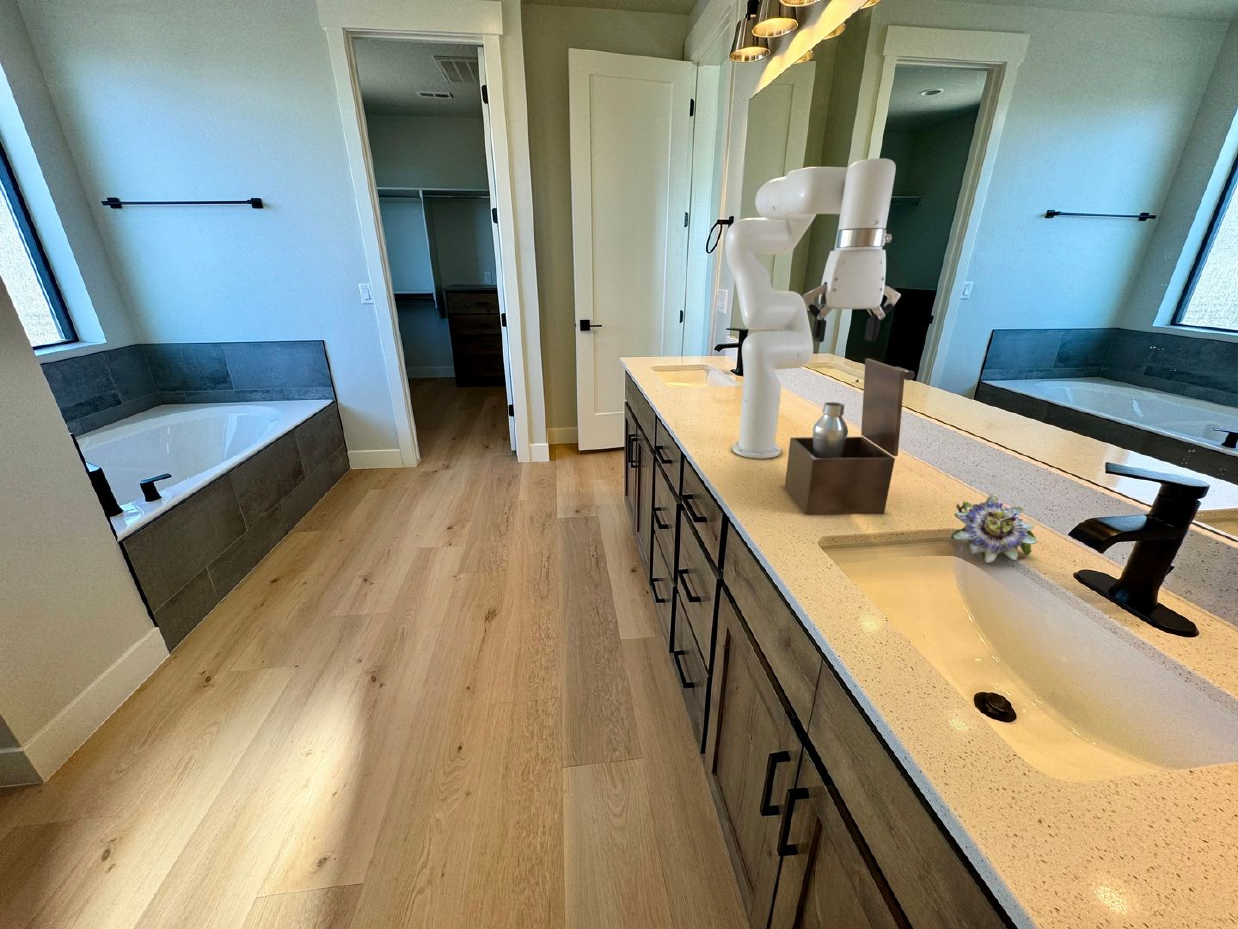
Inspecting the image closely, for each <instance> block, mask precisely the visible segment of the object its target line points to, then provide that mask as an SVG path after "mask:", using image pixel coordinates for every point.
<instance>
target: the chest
mask: <svg viewBox="0 0 1238 929" xmlns="http://www.w3.org/2000/svg"><path fill="white" fill-rule="evenodd" d="M895 461H896V458H895V457H894V456H892V455H891V454H889V453H888V452H886V451H885V450H883V449H882V448H880V447H879V446H877V445H876V444H874V443H873V442H871V441H870V440H868V439H867V438H865V437H864V436H847V438H846V441H845V444H844V447H843V451H842V456H841V458H815V457H814V456H813V436H807V437H806V436H805V437H801V436H800V437H799V436H798V437H790V440H789V447H788V456H787V462H786V463H787V464H786V473H785V479H784V480H785V481H784V488H785V489H786V491H787V492H788V493H789V495H790V496H791V497H792V499H793V500H794V501H795V503H796V504H797V505H798V506H799V508H800V509H801V510H802V512H803V513H804V515H809V516H811V515H812V516H813V515H883V514H885V512H886V511H885V510H886V505H887V502H888V495H889V492H890V486H891V480H892V476H893V471H894V467H895Z"/></svg>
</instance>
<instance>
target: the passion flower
mask: <svg viewBox="0 0 1238 929" xmlns="http://www.w3.org/2000/svg"><path fill="white" fill-rule="evenodd" d="M1003 506H1004V502H1000V501H999V497H998V496H997V495H996V494H994V493H991V495H989V496H988V497H987V498H986V500H985V501H984V502H980V503H979V504H977V503H975V504H972V503H970V502H968V501H963V502H962V505H960V503H958V502H957V504H956V505H955V507H956V509H957V511H958V512H957V513H954V516H955V518H957V519H958V520H959V521H961V523H963V524H965V525H964V526H963V527H962V528H961V529H957V530H956V531H953V532H952V533H951V534H950V538H951V539H952V540H956V541H964V540H967V541H968V552H969V554H970V556H974V555H975V556H976V555H977V554H978V555H980V556H982V558H983V561H984V563H985V564H991V563H993V562H994V561H995V560H996V559H997V557H998V555H999V554H1004V555H1005V556H1006V557H1007V558H1008V559H1010V560H1012V561H1016V560H1017V559H1018V557H1019V551H1018V550H1019V549H1018V548H1020V549H1021V551H1022V553H1023V555H1024V557H1025V558H1026V557H1028V556H1029V555H1030V554H1031V553H1032V545H1035V544H1037V543H1038V539H1037V538H1036V536H1035V534H1034V533H1033V532H1032V530H1033V529H1034V528H1035V525H1034V524H1033V523H1031V522H1028V521H1023V520H1024V519H1023V518H1021V517H1022V515H1021V514H1022V513H1023V511H1024V507H1023V506H1021V505H1019V506H1013V507H1012V506H1011V507H1009V508H1008V507H1003ZM968 508H969V509H968ZM963 510H964V511H963ZM1019 516H1020V517H1019Z"/></svg>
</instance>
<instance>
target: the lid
mask: <svg viewBox="0 0 1238 929" xmlns="http://www.w3.org/2000/svg"><path fill="white" fill-rule="evenodd" d="M914 378H915V372H914V371H913V370H909V369H907V368H903V367H900V366H893V365H890V364H887V363H883V362H881V361H878V360H875V359H872V358H865V360H864V378H863V392H862V394H863V395H862V396H863V397H862V398H863V399H862V412H861V431H860V435H861V437H864V438H865V439H867V440H868V441H870V442H871V443H873V444H874V445H876V446H877V447H879V448H880V449H882V450H883V451H884V452H886V453H887V454H889V455H890V456H892V457H898V456H899V446H900V435H901V434H900V433H901V424H902V423H901V422H902V412H903V402H904V401H903V399H904V388H905V381H907V382H909V381H912V380H913V379H914Z"/></svg>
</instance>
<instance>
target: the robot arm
mask: <svg viewBox="0 0 1238 929" xmlns="http://www.w3.org/2000/svg"><path fill="white" fill-rule="evenodd" d="M896 169H897V166H896V162H894V160H892V159H888V158H884V157H883V158H880V157H879V158H867V159H861V160H858V161H855V162H853V163H852V164H851V165H849V167H844V166H809V167H803V168H799V169H795V170H791V171H788V173H786V175H785V176H782V177H778V178H777V177H776V178H774V179H771V180H769V181H767V182H765V183H764V184H763V185H762V186H761V187H760V188H759V190H757V194H756V195H755V198H754V200H755V201H754V204H755V209H756V211H757V213H758V214H759V215H760V216H761V217H747V218H742V219H739V220H738V219H737V220H736V221H734V222H733V223H731V225H729V227H728V229H727V231H726V235H725V240H724V250H725V258H726V263H727V265H728V269H729V270H730V273H731V275H732V277H733V279H734V283H735V287H736V293H737V298H738V304H739V309H740V315H741V319H742V322H743V324H744V326H745V327H746V328H747V329H748V330H752V331H755V332H753V333H751V334H749V335H747V336H746V338H744V340H743V342H742V345H741V359H742V370H743V373H742V374H743V376H742V377H743V379H742V380H743V382H742V396H741V409H740V419H739V420H740V421H739V433H738V434H739V435H738V441H736V442H734V443H733V445H732V451H733V453H735V454H737V455H739V456H741V457H745V458H749V459H759V460H762V459H772V458H776V457H778V456H779V455H780V454H781V451H782V449H781V447H780V446H779V445H778V444H776V441H777V440H776V439H777V431H778V421H779V412H780V403H781V393H782V386H781V382H780V381H779V379H778V378H777V376H776V373H775V371H777V370H789V369H800V368H804V367H806V366H808V365H809V363H810V362H811V360H812V359H813V355H814V341H815V342H817V343H823V342H824V341H825V337H826V328H827V320H826V319H825V318H826V317H827V316H828V314H830V313H831V311H833V310H867V312H868V313H869V315H870V317H868V318H867V321H866V327H865V332H864V340H865V341H867V342H868V341H869V342H872V343H874V342H876V341H877V337H878V336H879V334H880V329H881V323H882V320H883V319H885V317H886V315H888V314H889V313H890V312H891V311H892V310H893V309H894V306H895V305H896V303H897V302H898V300H899V299H900V298H901V293H899V292H898V291H896V290H895V289H893V288H891V287H890V286H888V285H886V273H887V253H886V249H883V247H884V246H885V244H887V243H891V241H892V237H893V236H892V234H891V233H887V229H886V228H887V222H888V217H889V213H890V212H889V211H890V207H891V200H892V195H893V189H894V183H895V176H896ZM817 215H840V216H839V223H838V229H837V230H838V231H837V237H836V245H835V250H830V252H829V254H828V257H827V261H826V264H825V268H824V270H823V271H824V272H823V275H822V280H821V285H819V286H817V287H815V288H814V289H812V290H810V291H808V292H806V293H804V294H803V295H801V294H799V293H798V292H796V291H793V290H775V289H774V288H773V287H772V282H771V277H770V273H769V271H768V269H767V268H766V267H765V266H764V265H763V263H762V262H761V261H760V260H759V259H757V257H756V256H767V255H768V256H771V255H772V256H775V255H776V256H779V255H786V254H789V253H790V252H792V251H793V250H794V249H795V248H796V247H797V245H798V244H799V242H800V241H801V239H802V238H803V236H804V235H805V233H806V231H807V230H808V228H810V226H811V224H812V223H813V221H814V219H815V218H816V216H817ZM884 296H886V298H887V299H886V301H885V303H883V302H882V301H883V298H884ZM817 297H818V305H819V306H818V307H817V305H816V304H815V298H817ZM882 303H883V304H882ZM881 304H882V305H881ZM808 313H809V314H810V315H811V316H812V319H814V320H813V328H812V329H811V326H810V320H809V314H808ZM813 340H814V341H813Z"/></svg>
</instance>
